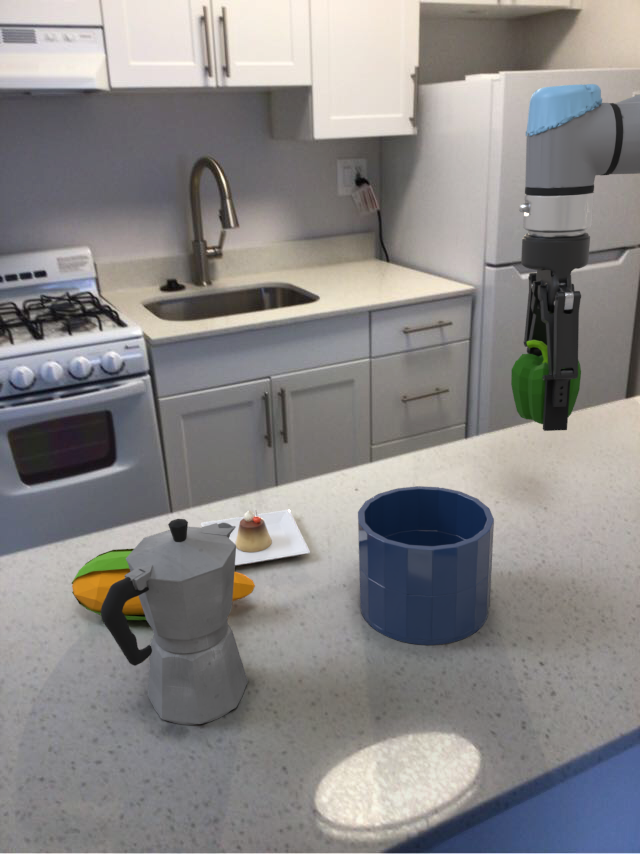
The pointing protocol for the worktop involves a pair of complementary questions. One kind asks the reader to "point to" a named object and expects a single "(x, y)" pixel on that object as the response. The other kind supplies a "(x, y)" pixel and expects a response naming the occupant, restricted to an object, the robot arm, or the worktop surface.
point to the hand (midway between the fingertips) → (545, 416)
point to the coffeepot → (183, 621)
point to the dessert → (264, 537)
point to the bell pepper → (536, 383)
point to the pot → (425, 564)
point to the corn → (113, 568)
